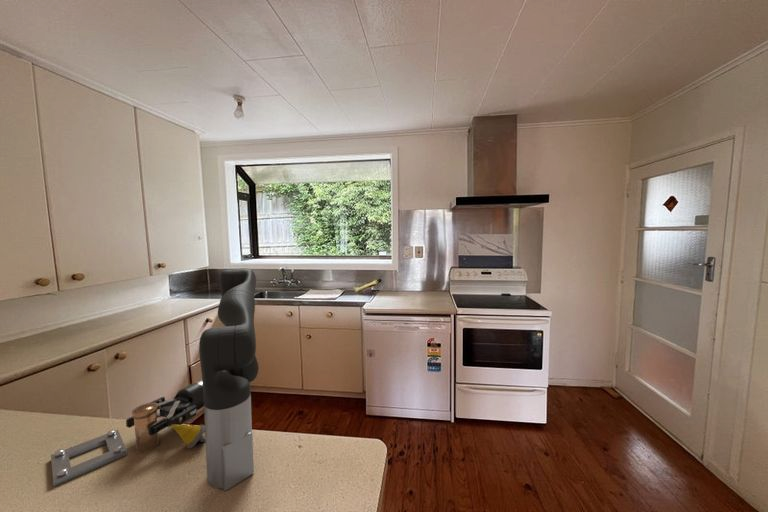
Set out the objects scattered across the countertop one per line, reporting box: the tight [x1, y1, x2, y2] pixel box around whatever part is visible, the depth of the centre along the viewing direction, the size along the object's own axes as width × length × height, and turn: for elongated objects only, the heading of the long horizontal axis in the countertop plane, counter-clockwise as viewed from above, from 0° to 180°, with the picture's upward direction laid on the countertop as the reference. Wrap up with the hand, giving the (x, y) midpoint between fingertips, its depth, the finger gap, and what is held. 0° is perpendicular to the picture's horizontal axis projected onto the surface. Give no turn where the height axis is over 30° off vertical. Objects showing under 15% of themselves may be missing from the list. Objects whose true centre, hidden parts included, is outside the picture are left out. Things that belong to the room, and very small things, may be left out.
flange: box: [50, 429, 128, 488], centre depth 71 cm, size 12×12×2 cm
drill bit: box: [171, 424, 206, 450], centre depth 75 cm, size 5×5×10 cm
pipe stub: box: [131, 402, 159, 453], centre depth 75 cm, size 5×5×10 cm
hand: (138, 427), depth 73 cm, fingers open, 8 cm apart
